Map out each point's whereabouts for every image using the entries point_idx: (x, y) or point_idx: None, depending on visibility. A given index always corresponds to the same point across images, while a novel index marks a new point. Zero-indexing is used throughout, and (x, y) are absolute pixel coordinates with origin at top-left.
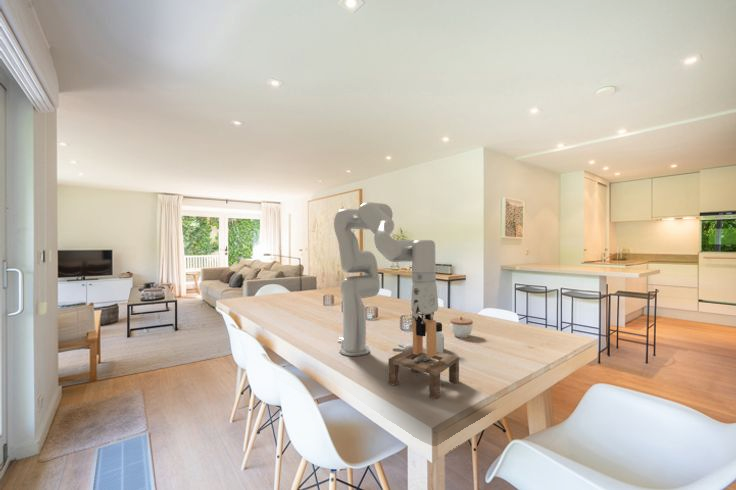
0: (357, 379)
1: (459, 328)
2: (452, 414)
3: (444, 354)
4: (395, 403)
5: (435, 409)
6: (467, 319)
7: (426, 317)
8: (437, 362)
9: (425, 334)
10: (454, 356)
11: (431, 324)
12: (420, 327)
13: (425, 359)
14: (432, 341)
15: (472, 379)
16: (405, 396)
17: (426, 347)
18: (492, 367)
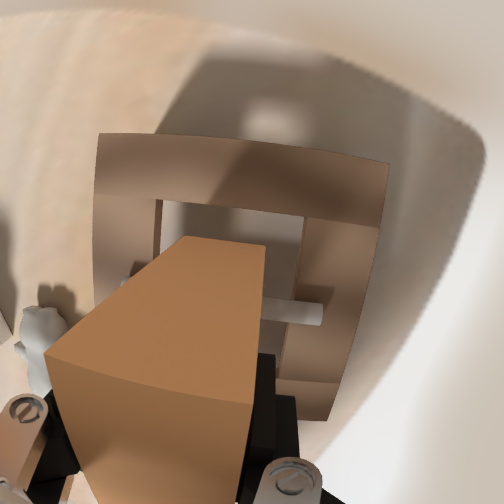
0: (327, 435)
1: None
2: (416, 96)
3: (107, 214)
4: (434, 278)
5: (417, 150)
6: None
7: (58, 472)
8: (254, 201)
9: (259, 359)
10: (108, 153)
11: (213, 375)
12: (296, 445)
13: (61, 321)
14: (224, 274)
15: (111, 108)
16: (382, 272)
17: (2, 342)
18: (4, 104)
